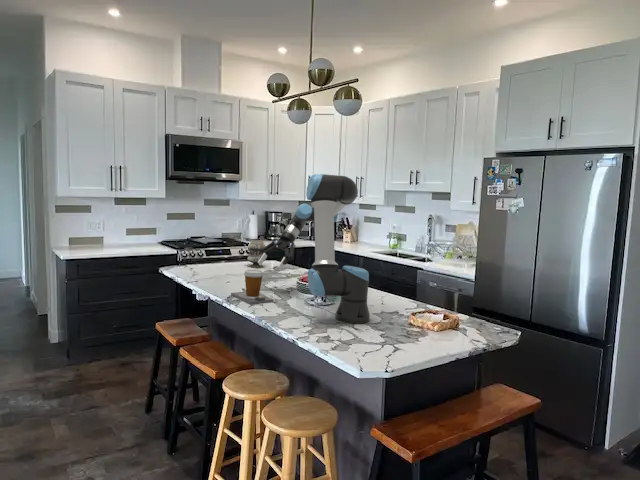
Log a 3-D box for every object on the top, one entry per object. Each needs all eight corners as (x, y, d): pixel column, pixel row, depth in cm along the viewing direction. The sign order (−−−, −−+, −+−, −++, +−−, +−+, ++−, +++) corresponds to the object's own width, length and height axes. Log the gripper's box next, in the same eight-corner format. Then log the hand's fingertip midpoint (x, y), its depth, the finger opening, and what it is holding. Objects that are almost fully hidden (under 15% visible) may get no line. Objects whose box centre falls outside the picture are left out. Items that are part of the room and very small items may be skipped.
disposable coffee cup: (258, 298, 234) (259, 274, 232) (240, 296, 236) (241, 272, 234) (264, 294, 243) (266, 270, 242) (247, 292, 245) (248, 268, 244)
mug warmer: (231, 295, 244) (231, 289, 243) (253, 293, 251) (253, 287, 251) (250, 304, 228) (250, 298, 228) (273, 301, 236) (274, 295, 235)
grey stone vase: (258, 264, 335) (260, 239, 333) (268, 267, 326) (269, 241, 324) (243, 266, 328) (244, 239, 326) (253, 269, 319) (254, 242, 317)
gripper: (310, 243, 252) (291, 275, 242) (274, 236, 266) (254, 266, 256) (305, 233, 247) (284, 265, 237) (268, 227, 261) (247, 257, 251)
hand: (269, 266), depth 247 cm, fingers open, 13 cm apart
